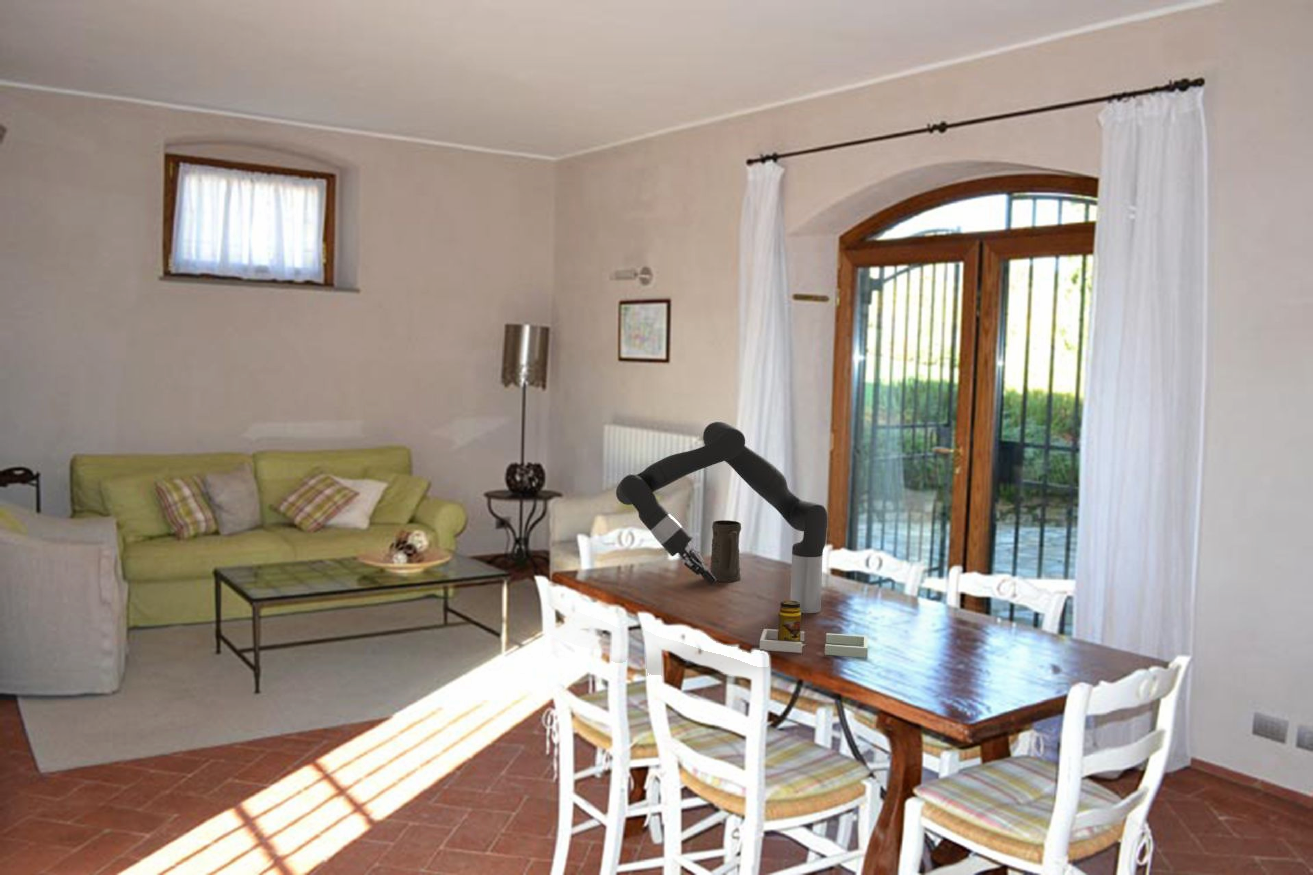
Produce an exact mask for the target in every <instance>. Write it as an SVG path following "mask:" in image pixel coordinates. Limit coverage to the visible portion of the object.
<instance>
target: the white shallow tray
mask: <svg viewBox="0 0 1313 875" xmlns="http://www.w3.org/2000/svg"><path fill="white" fill-rule="evenodd" d="M825 635H826V638H825V639H826V640H825V644H824V655H825V656H826V655H827V656H840V657H852V658H853V657H855V658H863V659H864V658H865V659H866V658H868V657H869V656H868V655H869V648H868V647H869V644H868V643H869V642H868V641H869V640H868V639H869V637H868V635H856V634H841V633H828V632H827V633H826V634H825Z"/></svg>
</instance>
